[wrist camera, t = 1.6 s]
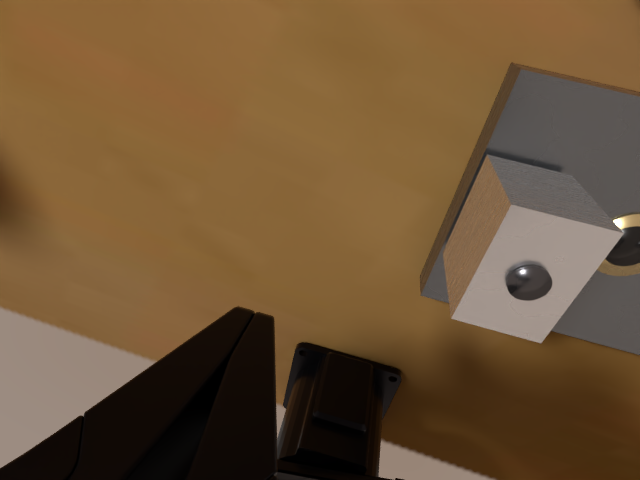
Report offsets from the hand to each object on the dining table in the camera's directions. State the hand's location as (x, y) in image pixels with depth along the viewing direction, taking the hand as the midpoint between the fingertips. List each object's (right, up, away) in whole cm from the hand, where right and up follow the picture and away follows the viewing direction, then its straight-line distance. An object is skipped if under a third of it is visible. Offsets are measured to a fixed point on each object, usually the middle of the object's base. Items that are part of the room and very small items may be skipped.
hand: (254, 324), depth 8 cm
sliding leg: (+8, +3, +7) cm, 11 cm away
